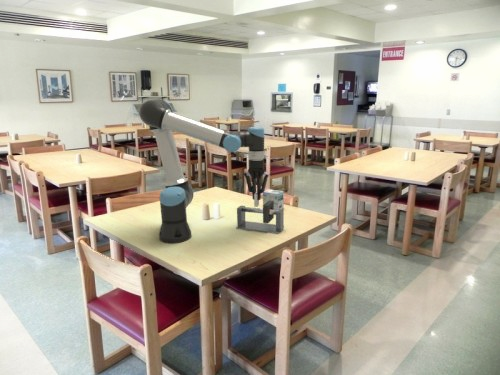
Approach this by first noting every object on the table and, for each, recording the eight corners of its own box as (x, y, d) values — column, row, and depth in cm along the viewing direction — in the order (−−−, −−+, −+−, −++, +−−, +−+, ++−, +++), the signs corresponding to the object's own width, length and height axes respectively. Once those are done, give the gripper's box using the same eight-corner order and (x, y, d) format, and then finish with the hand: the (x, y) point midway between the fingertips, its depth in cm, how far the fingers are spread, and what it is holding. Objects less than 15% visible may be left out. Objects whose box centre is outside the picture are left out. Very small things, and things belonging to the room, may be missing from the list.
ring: (263, 222, 182) (262, 205, 179) (269, 217, 190) (268, 200, 187) (267, 223, 181) (267, 205, 178) (273, 217, 189) (273, 200, 187)
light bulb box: (283, 208, 219) (284, 190, 216) (278, 211, 213) (278, 193, 211) (268, 206, 225) (268, 188, 222) (262, 209, 219) (262, 191, 216)
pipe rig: (235, 228, 188) (234, 208, 185) (243, 222, 197) (242, 203, 194) (279, 233, 179) (279, 213, 177) (284, 227, 188) (285, 207, 186)
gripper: (241, 159, 179) (241, 206, 185) (266, 161, 174) (266, 209, 180) (247, 157, 186) (247, 202, 191) (271, 158, 181) (271, 205, 187)
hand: (256, 205), depth 186 cm, fingers closed
